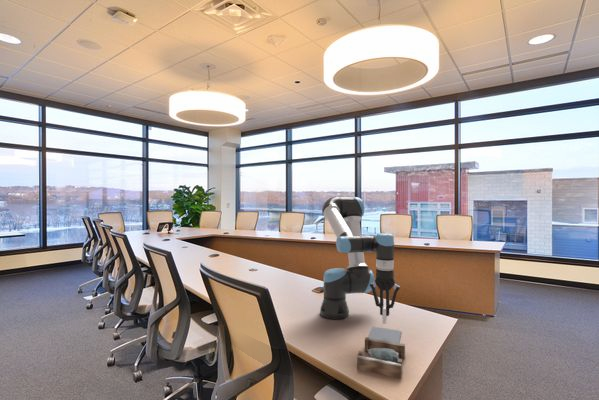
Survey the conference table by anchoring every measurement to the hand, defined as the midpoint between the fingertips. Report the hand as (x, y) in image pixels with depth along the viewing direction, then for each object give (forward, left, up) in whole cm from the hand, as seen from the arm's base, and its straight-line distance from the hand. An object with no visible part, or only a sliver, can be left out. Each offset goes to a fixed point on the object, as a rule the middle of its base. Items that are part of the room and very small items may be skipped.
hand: (384, 322), depth 136 cm
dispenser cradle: (+2, -22, -6) cm, 23 cm away
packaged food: (+5, -20, -8) cm, 23 cm away
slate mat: (0, 0, -6) cm, 6 cm away
